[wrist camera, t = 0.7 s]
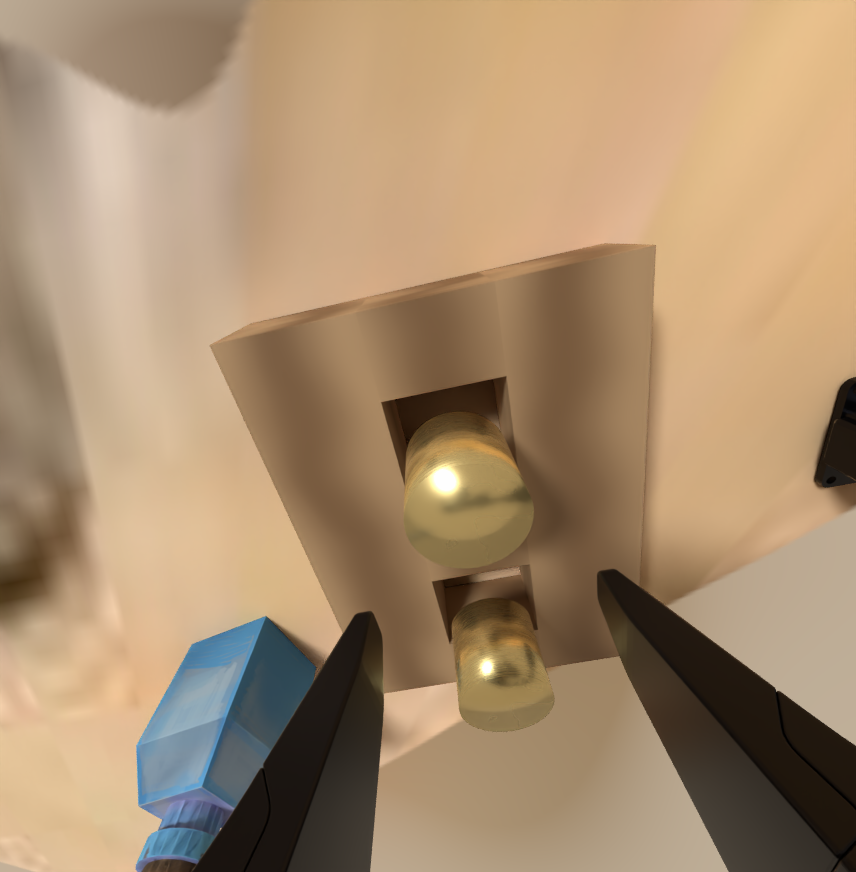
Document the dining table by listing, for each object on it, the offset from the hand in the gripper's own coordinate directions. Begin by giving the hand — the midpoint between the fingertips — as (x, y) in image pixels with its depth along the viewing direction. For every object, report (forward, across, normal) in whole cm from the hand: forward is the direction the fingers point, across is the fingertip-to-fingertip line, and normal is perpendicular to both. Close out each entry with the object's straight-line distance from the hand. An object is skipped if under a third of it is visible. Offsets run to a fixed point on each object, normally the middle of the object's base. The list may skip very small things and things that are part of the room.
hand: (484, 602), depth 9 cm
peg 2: (+7, 0, +10) cm, 12 cm away
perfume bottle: (+12, +17, +16) cm, 26 cm away
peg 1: (+7, 0, 0) cm, 7 cm away
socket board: (+12, 0, +5) cm, 13 cm away
